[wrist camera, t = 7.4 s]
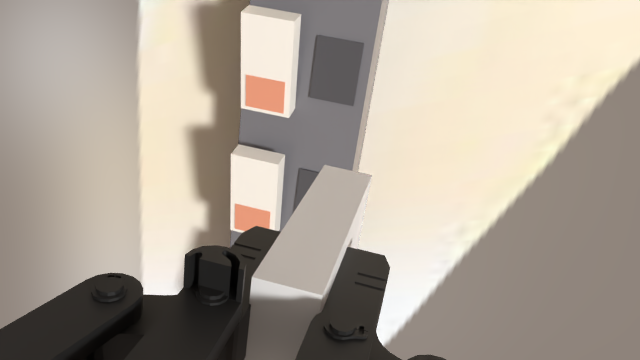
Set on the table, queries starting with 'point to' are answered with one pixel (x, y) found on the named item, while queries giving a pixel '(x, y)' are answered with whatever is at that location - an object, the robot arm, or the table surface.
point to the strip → (322, 94)
